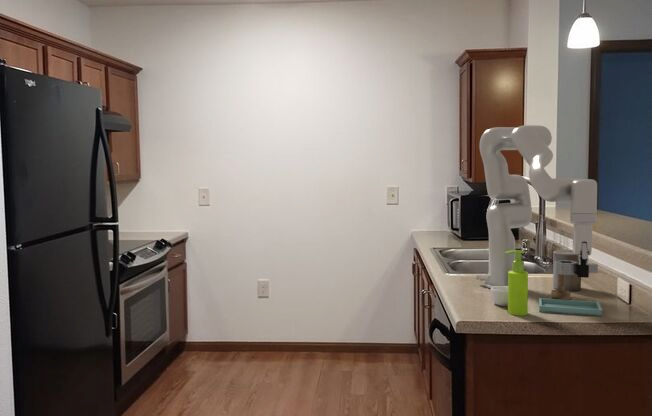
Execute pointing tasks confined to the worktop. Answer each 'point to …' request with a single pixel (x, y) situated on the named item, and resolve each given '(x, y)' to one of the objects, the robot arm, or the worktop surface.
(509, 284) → the soap dispenser
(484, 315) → the worktop surface
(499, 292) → the teacup
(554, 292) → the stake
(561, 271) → the wrench
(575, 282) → the pillar candle
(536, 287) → the worktop surface
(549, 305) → the tray
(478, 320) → the worktop surface
